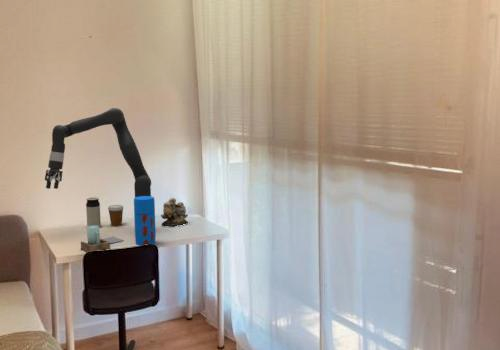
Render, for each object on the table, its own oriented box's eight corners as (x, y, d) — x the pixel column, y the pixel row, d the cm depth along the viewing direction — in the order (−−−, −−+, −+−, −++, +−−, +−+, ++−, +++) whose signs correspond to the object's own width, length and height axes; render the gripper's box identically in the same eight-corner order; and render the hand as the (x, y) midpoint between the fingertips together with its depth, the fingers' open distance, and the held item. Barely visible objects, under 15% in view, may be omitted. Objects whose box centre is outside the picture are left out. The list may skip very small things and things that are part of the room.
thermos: (137, 240, 267) (135, 196, 264) (156, 239, 268) (155, 195, 264) (134, 246, 256) (132, 199, 253) (154, 245, 257) (153, 199, 254)
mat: (113, 237, 273) (113, 236, 273) (123, 241, 266) (123, 240, 265) (95, 241, 265) (95, 240, 265) (105, 245, 258) (105, 244, 258)
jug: (96, 246, 256) (95, 224, 254) (104, 249, 250) (103, 227, 248) (85, 248, 251) (84, 226, 250) (93, 252, 245) (92, 229, 244)
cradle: (99, 245, 258) (98, 238, 257) (110, 249, 250) (109, 242, 250) (80, 249, 250) (80, 241, 250) (91, 253, 243) (91, 246, 242)
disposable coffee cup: (119, 227, 296) (119, 208, 294) (105, 226, 298) (104, 207, 296) (126, 223, 305) (126, 205, 304) (113, 222, 307) (112, 204, 306)
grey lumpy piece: (165, 228, 293) (164, 201, 291) (157, 225, 302) (156, 198, 300) (191, 224, 304) (190, 197, 301) (182, 220, 313) (181, 195, 311)
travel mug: (100, 228, 294) (98, 199, 292) (86, 228, 293) (85, 199, 290) (101, 224, 302) (100, 196, 299) (88, 225, 300) (86, 197, 298)
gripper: (56, 160, 265) (51, 189, 265) (68, 161, 280) (64, 189, 279) (43, 158, 266) (38, 187, 266) (56, 160, 280) (52, 187, 280)
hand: (51, 188), depth 273 cm, fingers open, 8 cm apart
